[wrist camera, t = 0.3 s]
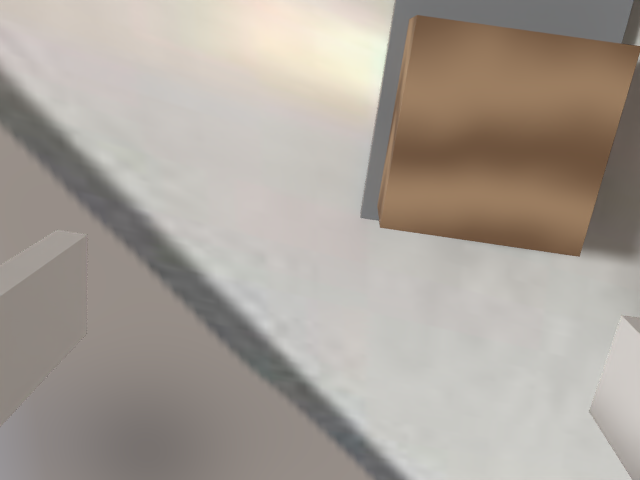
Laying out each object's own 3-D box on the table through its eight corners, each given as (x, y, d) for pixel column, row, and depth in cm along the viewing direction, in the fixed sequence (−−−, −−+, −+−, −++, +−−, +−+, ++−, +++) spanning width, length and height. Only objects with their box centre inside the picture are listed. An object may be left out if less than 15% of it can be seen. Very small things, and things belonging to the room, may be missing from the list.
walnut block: (409, 19, 36) (417, 15, 31) (603, 46, 36) (641, 46, 31) (377, 205, 40) (380, 227, 35) (552, 231, 40) (579, 256, 35)
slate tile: (406, -70, 35) (407, -74, 34) (636, -38, 35) (645, -41, 34) (360, 213, 41) (360, 217, 40) (557, 241, 41) (563, 247, 40)
